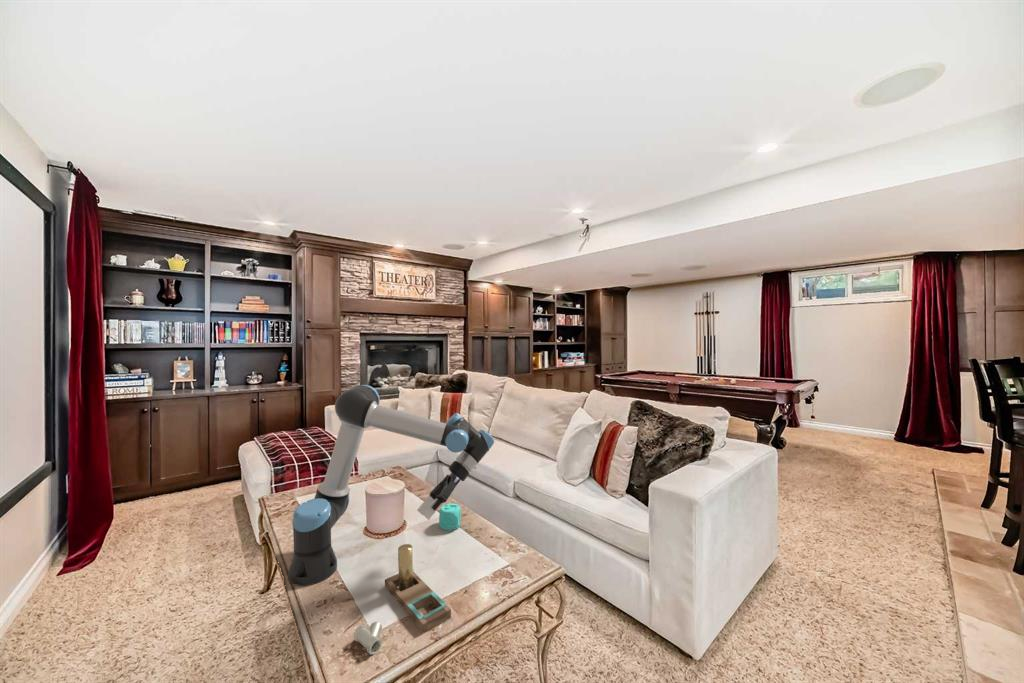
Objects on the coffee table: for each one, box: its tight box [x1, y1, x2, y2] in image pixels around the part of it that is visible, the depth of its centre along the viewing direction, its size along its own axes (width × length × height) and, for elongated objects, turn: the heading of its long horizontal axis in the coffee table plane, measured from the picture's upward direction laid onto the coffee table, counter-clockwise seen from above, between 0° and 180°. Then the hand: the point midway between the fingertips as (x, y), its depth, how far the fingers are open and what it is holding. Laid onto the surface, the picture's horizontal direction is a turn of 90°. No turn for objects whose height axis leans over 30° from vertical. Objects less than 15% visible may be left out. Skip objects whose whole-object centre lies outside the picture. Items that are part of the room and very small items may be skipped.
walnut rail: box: [384, 571, 452, 634], centre depth 123 cm, size 26×9×3 cm, turn 41°
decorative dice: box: [438, 503, 462, 531], centre depth 170 cm, size 8×8×8 cm
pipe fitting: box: [353, 621, 383, 655], centre depth 108 cm, size 8×4×7 cm
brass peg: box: [397, 543, 414, 591], centre depth 128 cm, size 4×4×14 cm
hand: (422, 515), depth 139 cm, fingers open, 13 cm apart
